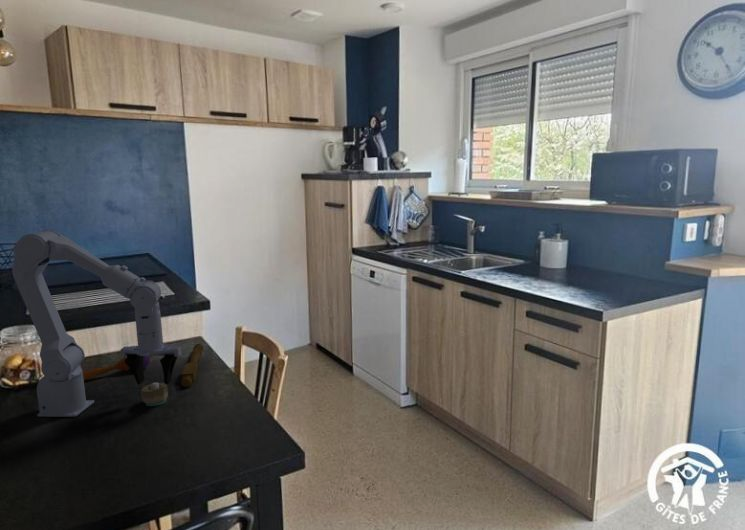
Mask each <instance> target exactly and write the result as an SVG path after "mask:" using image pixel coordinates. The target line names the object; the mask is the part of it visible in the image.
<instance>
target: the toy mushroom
mask: <svg viewBox="0 0 745 530" xmlns="http://www.w3.org/2000/svg"><path fill="white" fill-rule="evenodd" d="M159 383H160V382H153V383H150V384H149V385H150V388H151V390H155V389H158V388H159ZM167 398H168V397H167ZM167 398H166V399H165V400H162V401H159V402H156V403H145V402H144V403H145V406H147V407H159V406H160V405H164V404H165V403H166V402H167V400H168V399H167Z"/></svg>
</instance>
